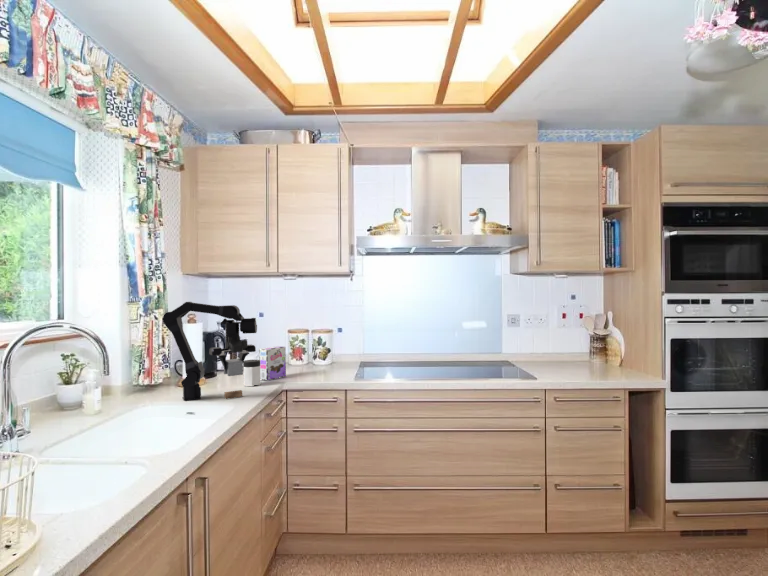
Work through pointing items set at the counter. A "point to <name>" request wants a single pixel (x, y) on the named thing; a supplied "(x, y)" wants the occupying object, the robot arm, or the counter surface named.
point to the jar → (251, 372)
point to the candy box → (272, 362)
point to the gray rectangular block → (234, 367)
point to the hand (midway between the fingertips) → (233, 369)
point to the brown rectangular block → (233, 394)
